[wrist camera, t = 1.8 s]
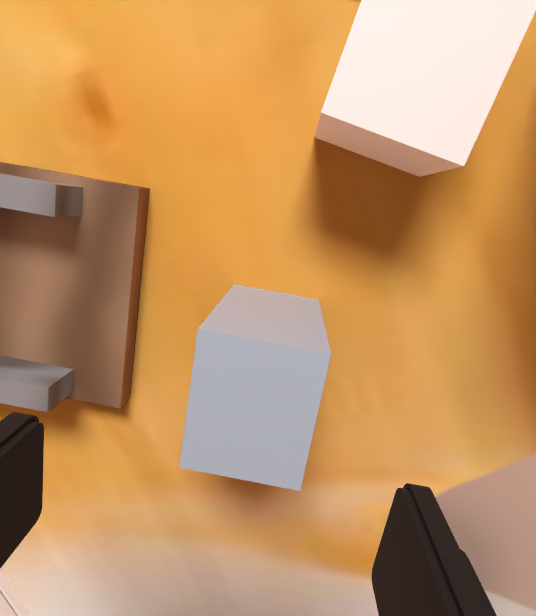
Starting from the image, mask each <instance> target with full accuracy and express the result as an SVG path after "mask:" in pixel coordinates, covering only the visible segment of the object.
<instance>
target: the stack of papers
mask: <svg viewBox="0 0 536 616" xmlns="http://www.w3.org/2000/svg"><path fill="white" fill-rule="evenodd" d="M0 616H32V614H31V613H30V611H29V610H28V608H27V607H26V605H25V604H24V602H23V601H22V600H21V598H20V597H19V595H18V594H17V592H16V591H15V589H14V588H13V587H12V585H11V584H10V582H9V581H8V579H7V578H6V576H5V575H4V573H3V572H2V571H1V569H0Z"/></svg>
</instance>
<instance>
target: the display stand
mask: <svg viewBox="0 0 536 616" xmlns="http://www.w3.org/2000/svg"><path fill="white" fill-rule="evenodd" d="M149 189H150V188H144V187H138V186H133V185H127V184H121V183H116V182H110V181H105V180H99V179H93V178H88V177H82V176H77V175H71V174H65V173H60V172H54V171H48V170H43V169H37V168H32V167H26V166H20V165H15V164H9V163H4V162H0V403H2V404H7V405H12V406H17V407H22V408H28V409H33V410H38V411H43V412H49V411H50V410H51V409H52V408H54V407H55V406H56V405H57V404H58V403H60V402H61V401H62V400H63V399H64V398H67V399H72V400H78V401H83V402H88V403H93V404H98V405H104V406H109V407H114V408H119V409H120V408H121V407H122V406H123V405H124V404H125V403H126V401H127V400H128V399H129V398H130V392H131V382H132V371H133V360H134V350H135V339H136V328H137V317H138V307H139V296H140V285H141V274H142V264H143V253H144V242H145V231H146V221H147V210H148V199H149Z"/></svg>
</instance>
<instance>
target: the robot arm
mask: <svg viewBox="0 0 536 616" xmlns="http://www.w3.org/2000/svg"><path fill="white" fill-rule="evenodd" d="M43 446H44V426H43V424H42V423H39V420H38V418H37V417H36V416H32V415H27V414H21V413H16V412H14V413H11V414H9V415H8V416H6V417H5V418H4V419H3V420H1V421H0V568H1V567H2V566H3V564H4V563H5V562H6V561H7V559H8V558H9V557H10V555H11V554H12V553H13V552H14V550H15V549H16V548H17V546H18V545H19V544H20V543H21V541H22V540H23V539H24V537H25V536H26V535H27V534H28V532H29V531H30V530H31V528H32V527H33V526H34V525H35V523H36V522H37V520H38V518H39V516H40V514H41V510H42V491H43ZM372 585H373V590H374V594H375V599H376V604H377V608H378V613H379V616H496V613H495V611H494V609H493V607H492V605H491V603H490V601H489V599H488V597H487V595H486V593H485V591H484V589H483V587H482V585H481V583H480V581H479V579H478V577H477V575H476V573H475V571H474V569H473V567H472V565H471V563H470V561H469V559H468V557H467V556H466V554H465V553H464V552H463V551H462V550H461V549H459V546H458V544H457V542H456V541H455V538H454V536H453V534H452V532H451V530H450V528H449V526H448V524H447V521H446V520H445V517H444V515H443V513H442V511H441V509H440V507H439V505H438V503H437V501H436V499H435V497H434V494H433V492H432V491H431V489H430V488H429V487H425V486H419V485H414V484H408V483H407V484H405V485H404V487H403V488H398V489H397V490H396V493H395V496H394V499H393V503H392V506H391V509H390V513H389V516H388V519H387V522H386V526H385V529H384V532H383V535H382V539H381V542H380V545H379V548H378V552H377V555H376V558H375V562H374V565H373V569H372Z"/></svg>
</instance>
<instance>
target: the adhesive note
mask: <svg viewBox="0 0 536 616" xmlns="http://www.w3.org/2000/svg"><path fill="white" fill-rule="evenodd" d="M535 11H536V0H361V3H360V6H359V9H358V11H357V14H356V17H355V20H354V22H353V25H352V28H351V31H350V34H349V36H348V39H347V42H346V45H345V47H344V50H343V53H342V56H341V59H340V61H339V64H338V67H337V70H336V72H335V75H334V78H333V81H332V84H331V86H330V89H329V92H328V95H327V97H326V100H325V103H324V106H323V109H322V111H321V115H320V119H319V122H318V126H317V130H316V134H315V138H317V139H320V140H323V141H325V142H328V143H331V144H333V145H336V146H339V147H341V148H344V149H347V150H349V151H352V152H355V153H357V154H360V155H363V156H365V157H368V158H371V159H373V160H376V161H379V162H381V163H384V164H387V165H389V166H392V167H395V168H397V169H400V170H403V171H405V172H408V173H411V174H413V175H416V176H419V177H421V176H426V175H430V174H434V173H438V172H442V171H446V170H451V169H455V168H459V167H463V166H464V165H465V163H466V161H467V158H468V156H469V154H470V152H471V150H472V148H473V145H474V143H475V141H476V139H477V137H478V135H479V132H480V130H481V128H482V126H483V124H484V122H485V119H486V117H487V115H488V113H489V111H490V109H491V106H492V104H493V102H494V100H495V98H496V95H497V93H498V91H499V89H500V87H501V85H502V82H503V80H504V78H505V76H506V74H507V72H508V69H509V67H510V65H511V63H512V61H513V59H514V56H515V54H516V52H517V50H518V48H519V46H520V43H521V41H522V39H523V37H524V35H525V33H526V30H527V28H528V26H529V24H530V22H531V20H532V17H533V15H534V13H535Z"/></svg>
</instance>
